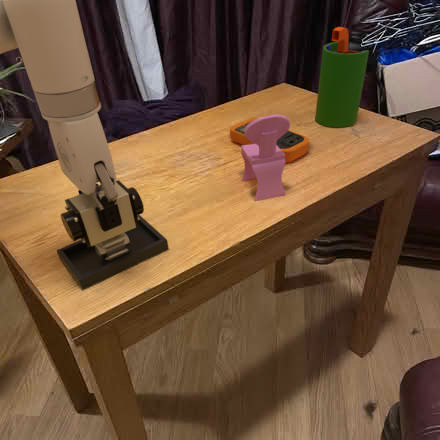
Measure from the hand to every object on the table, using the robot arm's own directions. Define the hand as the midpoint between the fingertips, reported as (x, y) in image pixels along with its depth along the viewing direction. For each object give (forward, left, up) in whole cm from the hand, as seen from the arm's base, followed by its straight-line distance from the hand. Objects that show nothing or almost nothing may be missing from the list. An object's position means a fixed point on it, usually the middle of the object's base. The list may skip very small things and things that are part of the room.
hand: (103, 217), depth 66 cm
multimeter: (+23, +40, -8) cm, 47 cm away
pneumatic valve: (0, 0, -7) cm, 7 cm away
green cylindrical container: (+38, +55, -8) cm, 67 cm away
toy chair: (+23, +23, -8) cm, 33 cm away
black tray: (0, 0, -7) cm, 7 cm away
